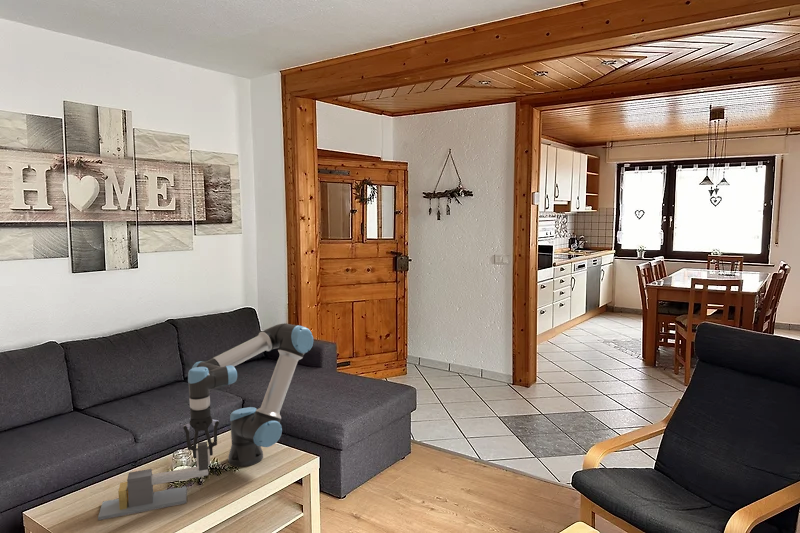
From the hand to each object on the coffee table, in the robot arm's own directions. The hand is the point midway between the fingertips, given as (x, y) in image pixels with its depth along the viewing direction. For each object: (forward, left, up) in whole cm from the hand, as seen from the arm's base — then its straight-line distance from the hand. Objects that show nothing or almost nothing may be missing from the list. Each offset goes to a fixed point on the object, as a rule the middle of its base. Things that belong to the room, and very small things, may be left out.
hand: (203, 464), depth 217 cm
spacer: (+29, 0, -10) cm, 31 cm away
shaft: (+11, 0, -4) cm, 12 cm away
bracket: (+22, 0, -12) cm, 25 cm away
